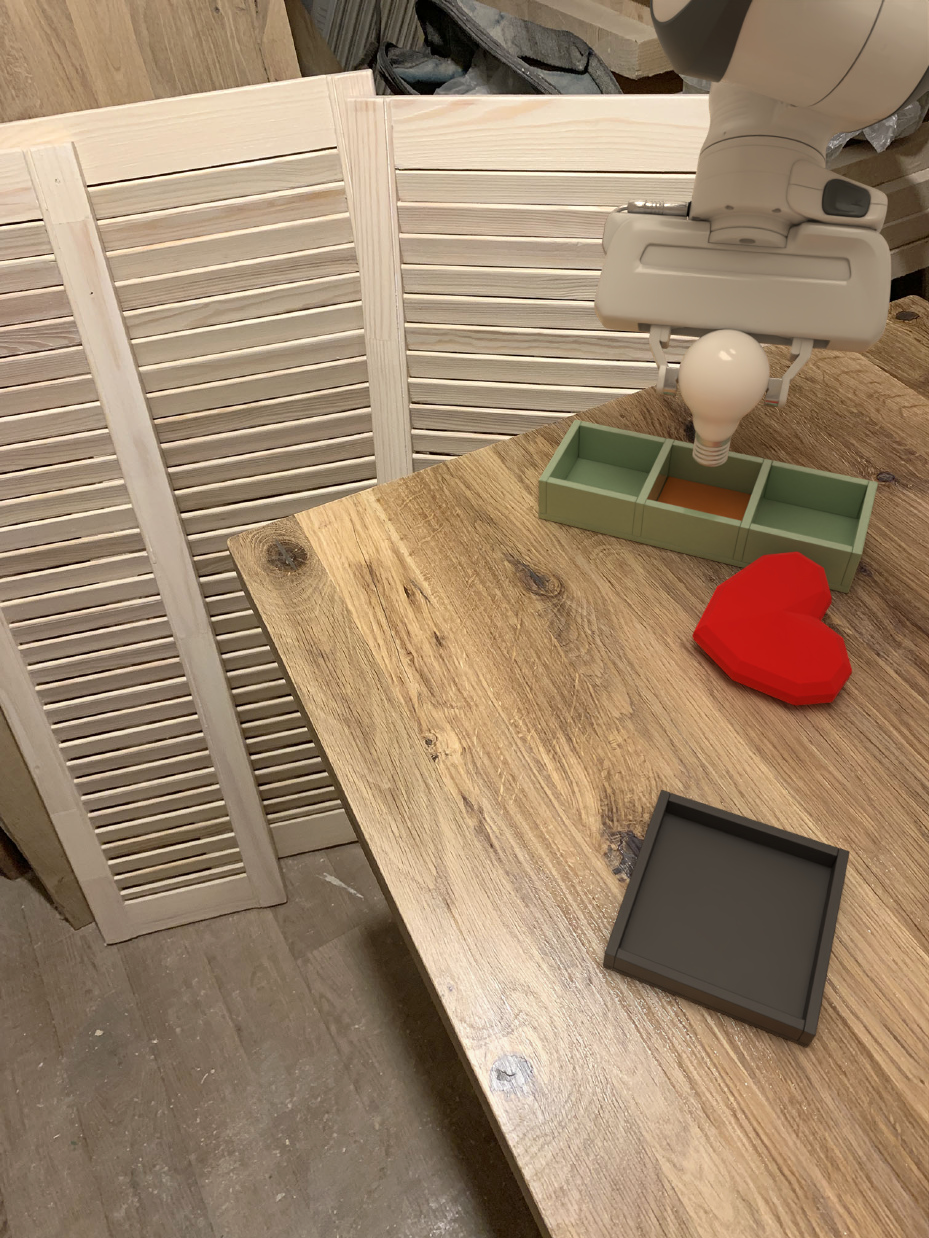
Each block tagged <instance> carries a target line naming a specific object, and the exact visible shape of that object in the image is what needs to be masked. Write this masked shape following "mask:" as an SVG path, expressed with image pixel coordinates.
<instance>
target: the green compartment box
mask: <svg viewBox="0 0 929 1238" xmlns="http://www.w3.org/2000/svg"><path fill="white" fill-rule="evenodd" d="M693 447H694V443H691V442H687V441H682V440H676V439H673V438H668V437H662V436H657V435H652V434H647V433H642V432H637V431H634V430H633V431H632V430H628V429H625V428H624V429H623V428H618V427H613V426H610V425H603V424H599V423H594V422H590V421H584V420H581V419H574V420H573V422H572V423H571V425H570V427H569V428H568V430H567V431H566V433H565V435H564V436H563V438H562V440H561V442H560V443H559V445H558V447H557V448H556V450H555V452H554V453H553V455H552V457H551V458H550V460H549V462H548V464H547V465H546V467H545V468H544V470H543V472H542V474H541V475H540V477H539V479H538V519H542V520H546V521H550V522H554V523H557V524H562V525H566V526H571V527H575V528H579V529H583V530H587V531H589V532H590V531H591V532H595V533H600V534H602V535H608V536H611V537H615V538H618V539H624V540H626V541H627V540H628V541H631V542H636V543H639V544H643V545H648V546H652V547H656V548H661V549H664V550H669V551H672V552H677V553H681V554H685V555H689V556H693V557H697V558H701V559H705V560H708V561H713V562H718V563H721V564H725V565H730V566H733V567H738V568H742V569H744V568H745V567H747V566H748V565H750V564H751V563H752V562H754V561H755V560H757V559H758V558H760V557H761V556H763V555H770V554H779V553H789V552H799V553H801V554H802V555H804V556H806V557H807V558H809V559H810V560H812V561H814V562H815V563H817V564H818V565H820V566H822V567H823V568H824V571H825V574H826V578H827V582H828V585H829V589H830V591H831V590H832V591H836V592H840V593H844V594H849V592H850V590H851V587H852V585H853V581H854V578H855V576H856V572H857V570H858V567H859V564H860V562H861V559H862V556H863V552H864V548H865V543H866V540H867V539H866V538H867V534H868V530H869V525H870V522H871V517H872V512H873V508H874V502H875V499H876V495H877V490H878V486H879V482H878V481H875V480H869V479H865V478H860V477H855V476H851V475H846V474H840V473H836V472H831V471H826V470H821V469H817V468H813V467H806V466H802V465H799V464H793V463H788V462H784V461H777V460H772V459H768V458H764V457H761V456H755V455H750V454H745V453H739V452H735V451H730V450H729V452H728V458H727V461H726V462H725V463H723V464H722V465H719V466H715V467H708V466H704V465H701V464H699V463H697V462H696V461H695V460H694V459H693V456H692V453H693Z"/></svg>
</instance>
